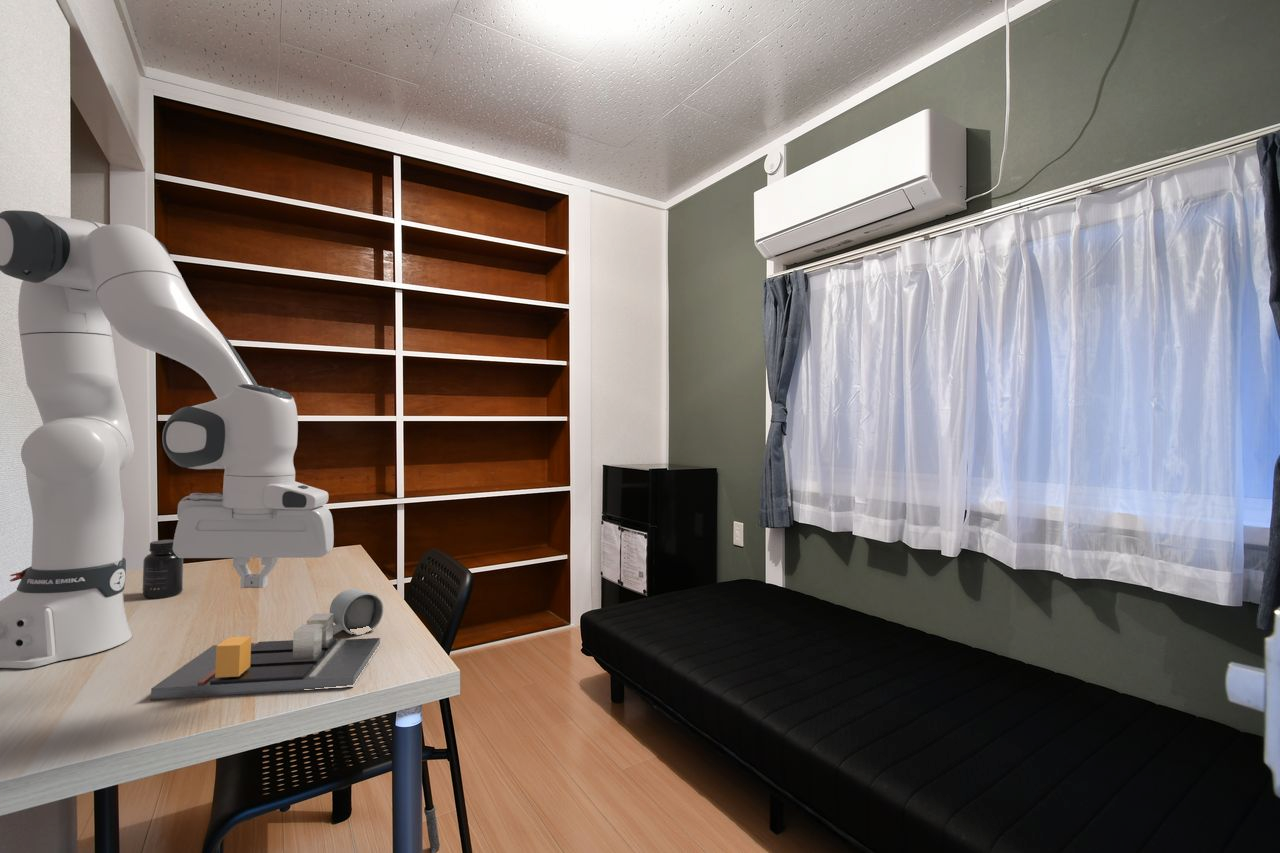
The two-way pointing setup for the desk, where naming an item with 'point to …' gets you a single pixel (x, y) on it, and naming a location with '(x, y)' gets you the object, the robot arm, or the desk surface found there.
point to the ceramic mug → (356, 610)
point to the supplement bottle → (162, 571)
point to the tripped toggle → (233, 657)
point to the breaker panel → (277, 665)
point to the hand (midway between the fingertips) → (254, 587)
